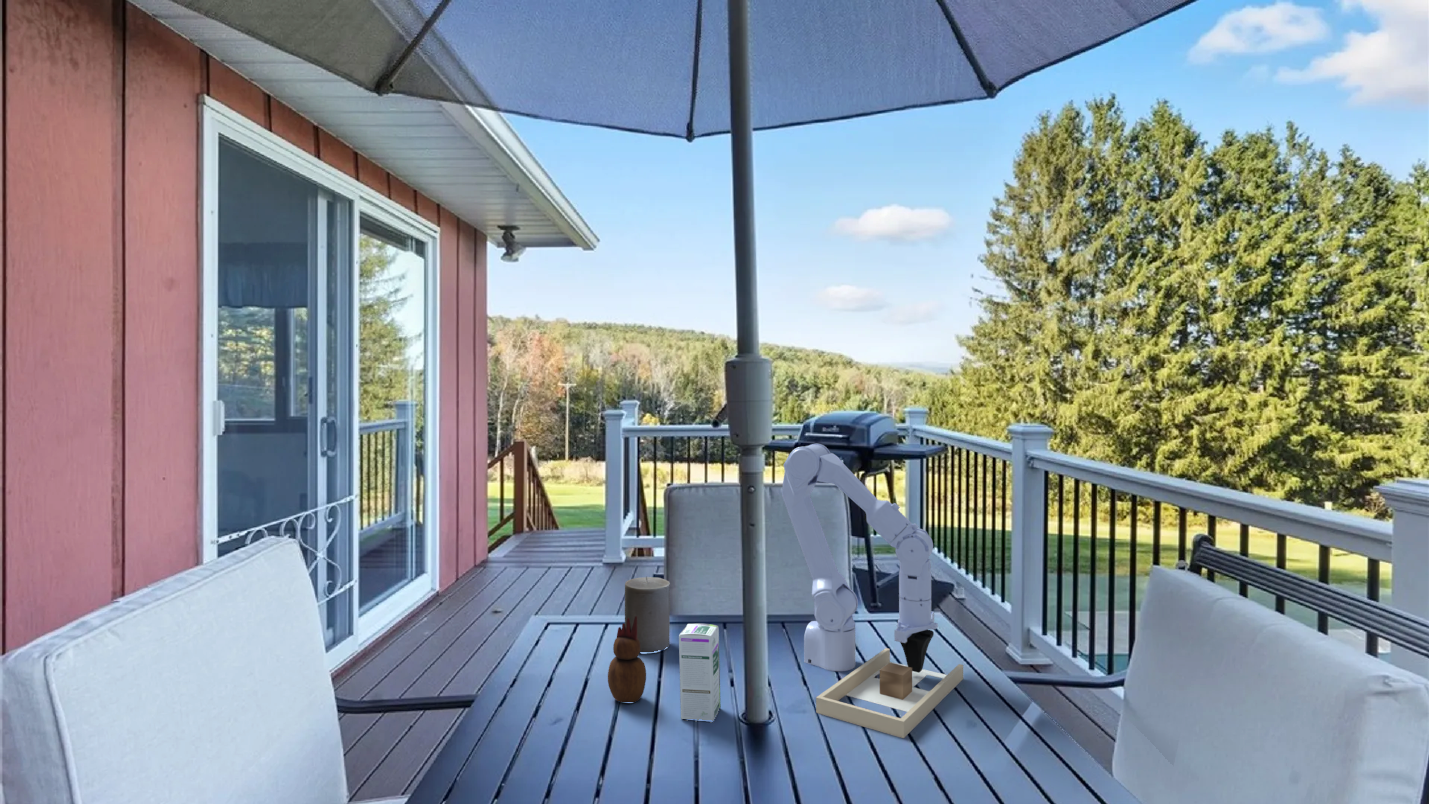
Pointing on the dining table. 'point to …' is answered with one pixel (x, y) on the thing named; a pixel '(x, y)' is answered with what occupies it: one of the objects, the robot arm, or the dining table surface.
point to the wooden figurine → (627, 666)
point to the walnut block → (896, 680)
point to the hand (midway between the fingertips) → (915, 670)
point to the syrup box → (699, 671)
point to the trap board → (885, 697)
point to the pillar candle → (649, 611)
